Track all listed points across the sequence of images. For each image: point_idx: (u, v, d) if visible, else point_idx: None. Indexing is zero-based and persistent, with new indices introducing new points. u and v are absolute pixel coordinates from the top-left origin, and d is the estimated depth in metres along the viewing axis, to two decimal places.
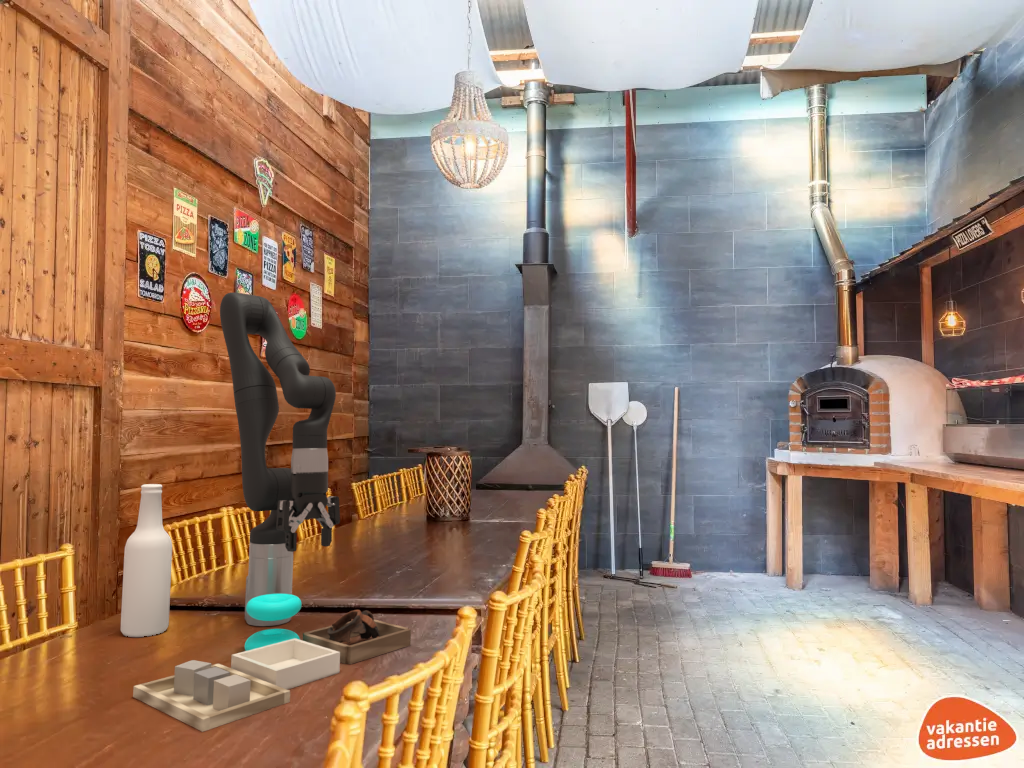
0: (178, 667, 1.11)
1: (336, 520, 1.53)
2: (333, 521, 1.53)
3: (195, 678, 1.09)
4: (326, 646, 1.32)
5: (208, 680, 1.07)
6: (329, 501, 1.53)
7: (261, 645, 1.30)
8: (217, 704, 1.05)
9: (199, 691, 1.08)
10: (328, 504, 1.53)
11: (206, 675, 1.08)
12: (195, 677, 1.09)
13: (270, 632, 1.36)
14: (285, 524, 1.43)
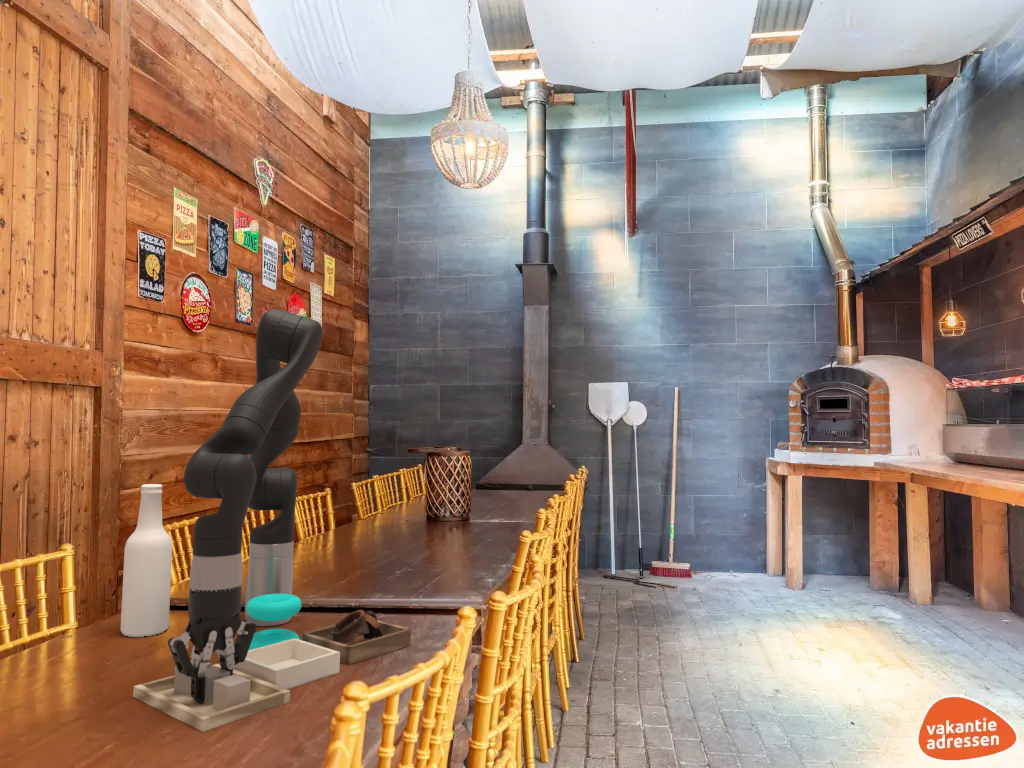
0: None
1: (240, 656, 1.12)
2: (235, 658, 1.12)
3: None
4: (326, 646, 1.32)
5: (208, 680, 1.07)
6: (242, 627, 1.13)
7: (261, 645, 1.30)
8: (217, 704, 1.05)
9: None
10: (239, 631, 1.13)
11: (206, 675, 1.08)
12: None
13: (270, 632, 1.36)
14: (189, 668, 1.05)
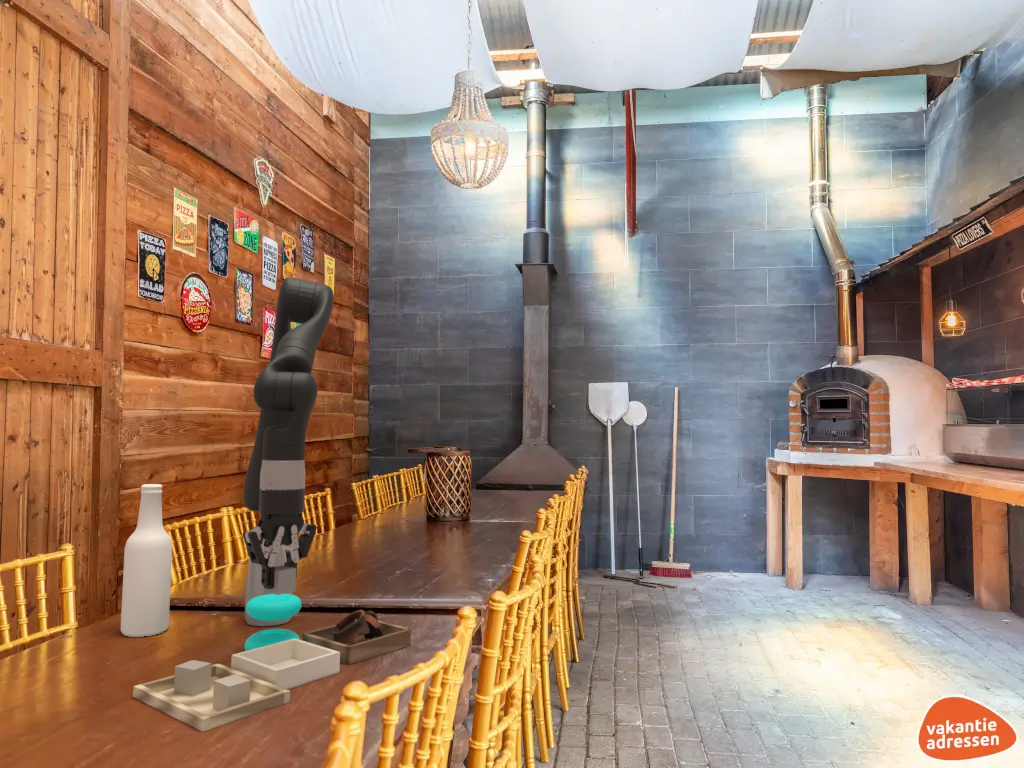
0: (178, 667, 1.11)
1: (303, 552, 1.26)
2: (299, 554, 1.26)
3: None
4: (326, 646, 1.32)
5: (278, 573, 1.21)
6: (304, 527, 1.27)
7: (261, 645, 1.30)
8: (217, 704, 1.05)
9: None
10: (302, 530, 1.27)
11: (276, 569, 1.22)
12: None
13: (270, 632, 1.36)
14: (261, 557, 1.19)
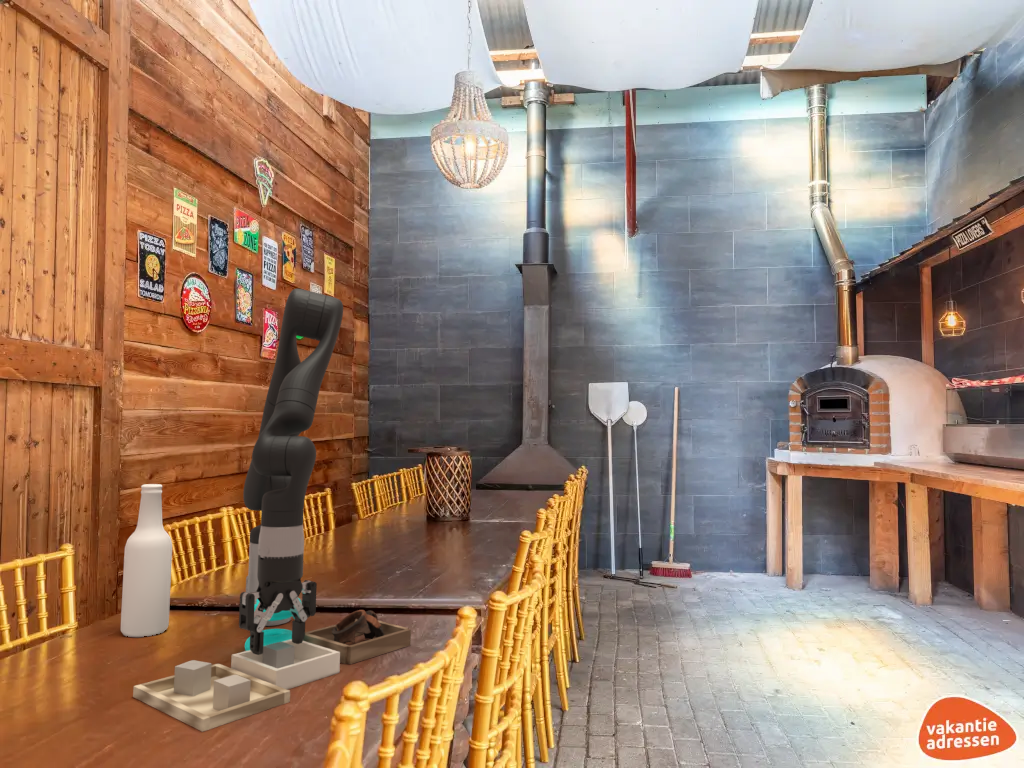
0: (178, 667, 1.11)
1: (311, 611, 1.27)
2: (307, 612, 1.27)
3: (263, 651, 1.22)
4: (326, 646, 1.32)
5: (276, 653, 1.20)
6: (304, 587, 1.27)
7: None
8: (217, 704, 1.05)
9: (268, 663, 1.21)
10: (303, 591, 1.27)
11: (274, 648, 1.21)
12: (264, 650, 1.22)
13: (270, 632, 1.36)
14: (250, 623, 1.17)
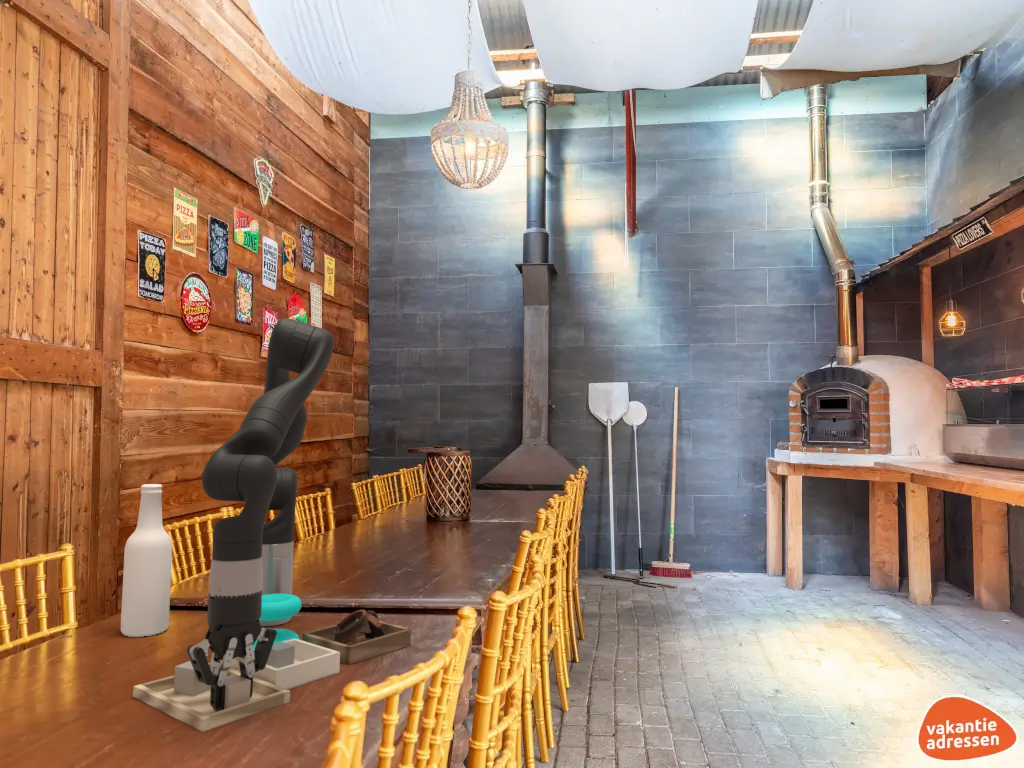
0: (178, 667, 1.11)
1: (260, 663, 1.09)
2: (255, 666, 1.08)
3: None
4: (326, 646, 1.32)
5: (276, 653, 1.20)
6: (262, 633, 1.10)
7: None
8: None
9: (268, 663, 1.21)
10: (259, 637, 1.10)
11: (274, 648, 1.21)
12: None
13: None
14: (209, 676, 1.02)
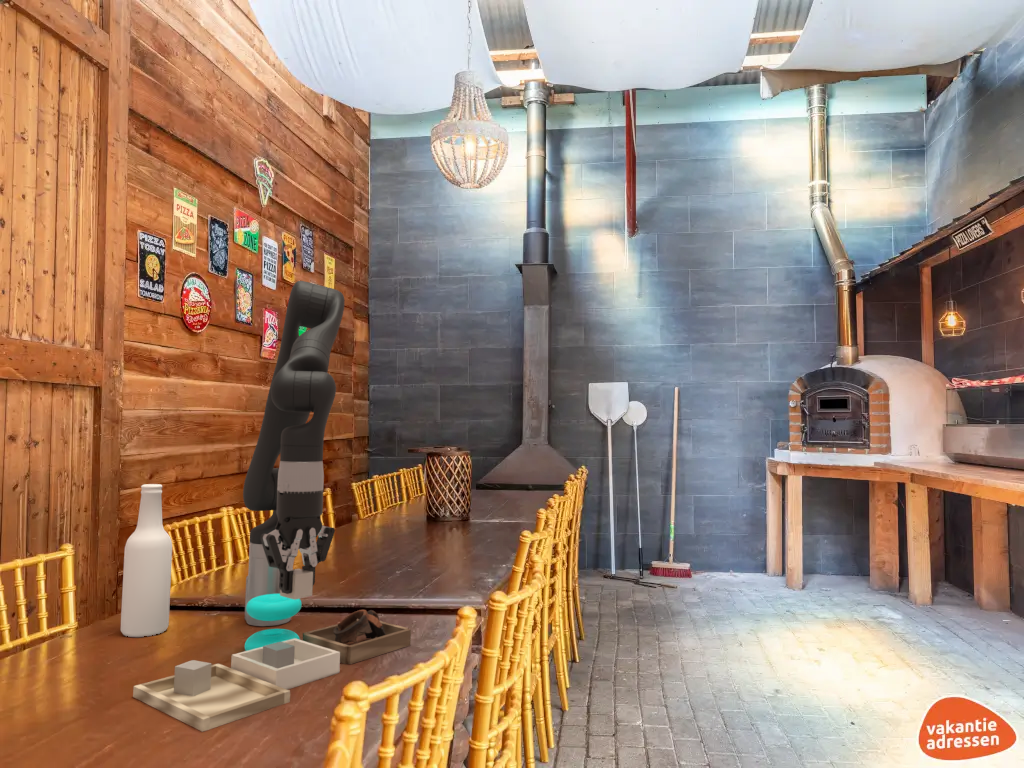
0: (178, 667, 1.11)
1: (322, 556, 1.23)
2: (317, 558, 1.23)
3: (263, 651, 1.22)
4: (326, 646, 1.32)
5: (276, 653, 1.20)
6: (322, 530, 1.24)
7: (261, 645, 1.30)
8: None
9: (268, 663, 1.21)
10: (320, 533, 1.24)
11: (274, 648, 1.21)
12: (264, 650, 1.22)
13: (270, 632, 1.36)
14: (279, 561, 1.16)
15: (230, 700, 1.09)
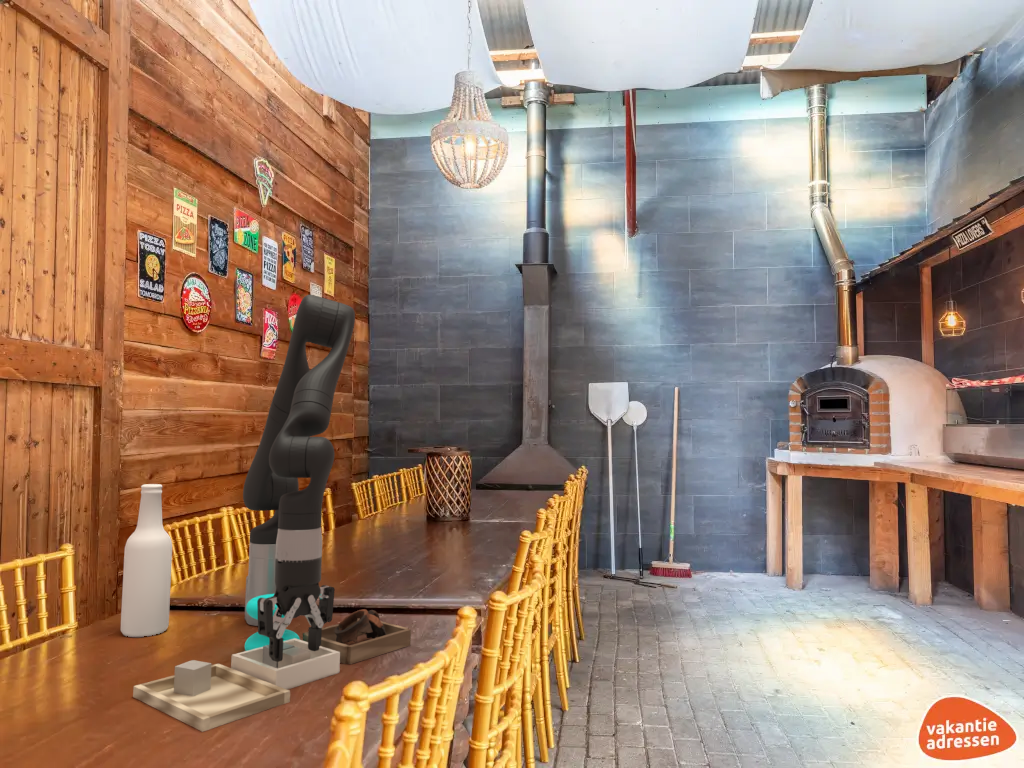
0: (178, 667, 1.11)
1: (327, 617, 1.24)
2: (324, 618, 1.23)
3: (263, 651, 1.22)
4: (326, 646, 1.32)
5: None
6: (322, 592, 1.24)
7: (261, 645, 1.30)
8: None
9: (268, 663, 1.21)
10: (320, 596, 1.24)
11: None
12: (264, 650, 1.22)
13: None
14: (269, 629, 1.14)
15: (230, 700, 1.09)
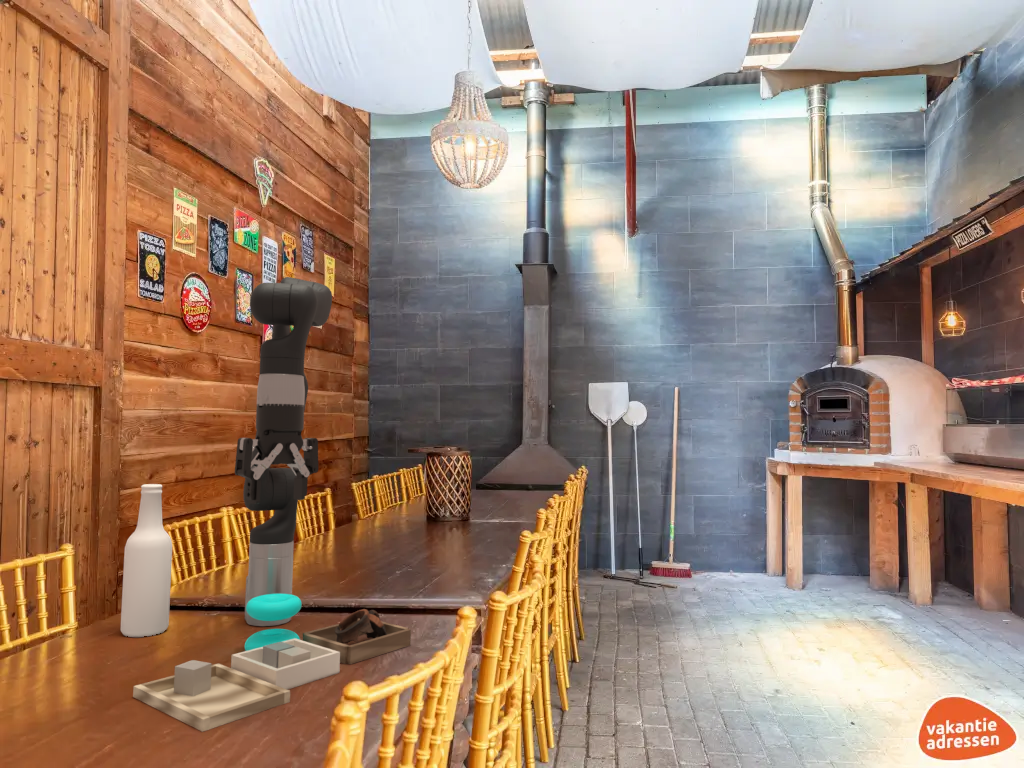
0: (178, 667, 1.11)
1: (313, 468, 1.21)
2: (309, 469, 1.21)
3: (263, 651, 1.22)
4: (326, 646, 1.32)
5: (276, 653, 1.20)
6: (305, 444, 1.21)
7: (261, 645, 1.30)
8: None
9: (268, 663, 1.21)
10: (304, 447, 1.21)
11: (274, 648, 1.21)
12: (264, 650, 1.22)
13: (270, 632, 1.36)
14: (246, 468, 1.11)
15: (230, 700, 1.09)
